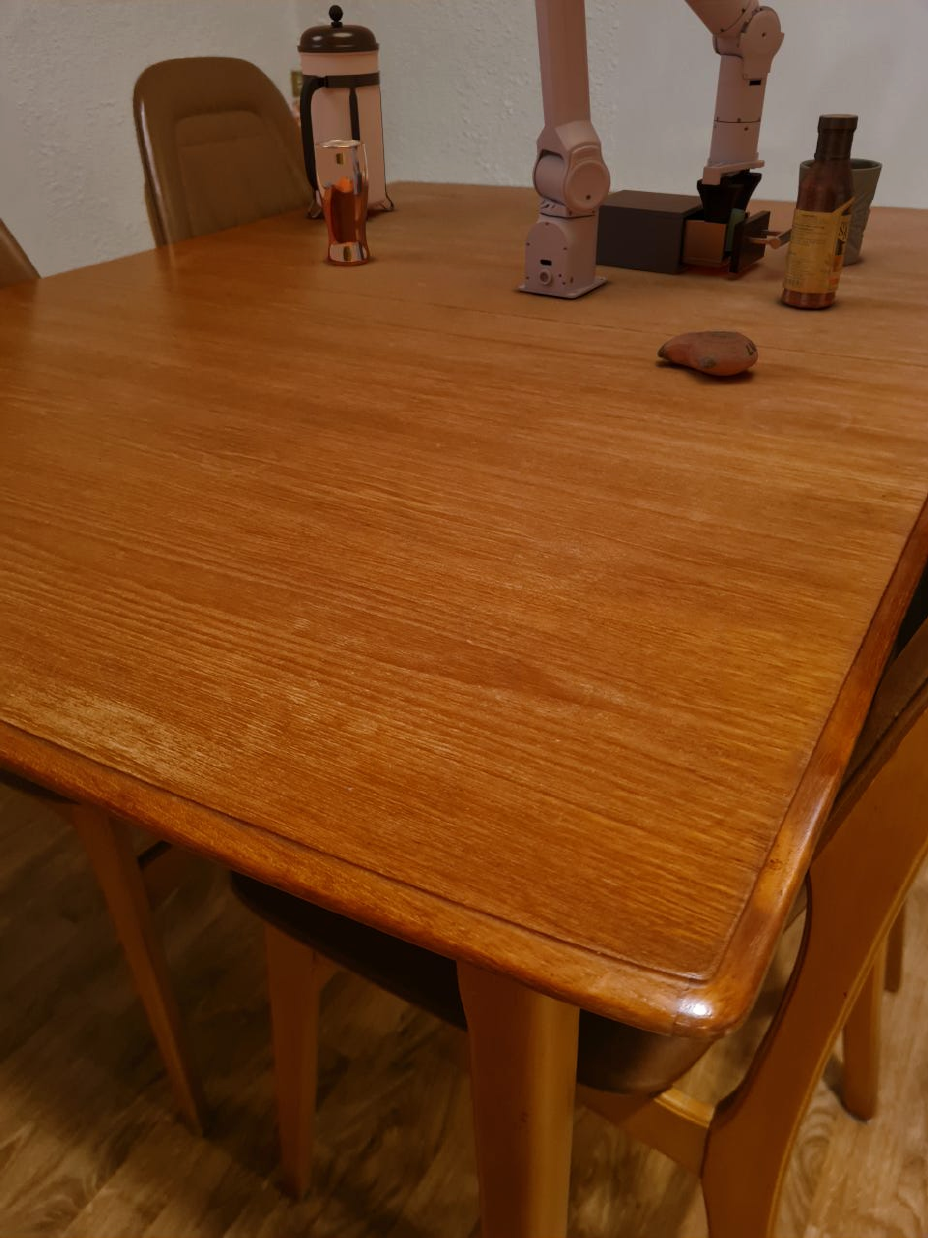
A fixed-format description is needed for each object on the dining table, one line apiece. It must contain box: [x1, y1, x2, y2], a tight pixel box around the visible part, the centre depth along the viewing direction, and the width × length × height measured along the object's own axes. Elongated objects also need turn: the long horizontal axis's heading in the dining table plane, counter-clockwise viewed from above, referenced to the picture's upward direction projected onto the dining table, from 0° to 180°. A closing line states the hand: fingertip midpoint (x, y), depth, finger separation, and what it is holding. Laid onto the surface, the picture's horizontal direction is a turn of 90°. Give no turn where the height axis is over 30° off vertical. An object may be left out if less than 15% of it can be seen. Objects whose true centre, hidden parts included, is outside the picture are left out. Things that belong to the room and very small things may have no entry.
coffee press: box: [296, 4, 395, 222], centre depth 153 cm, size 17×16×30 cm
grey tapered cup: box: [797, 157, 883, 266], centre depth 128 cm, size 10×10×12 cm
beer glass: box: [315, 140, 372, 267], centre depth 131 cm, size 7×7×15 cm
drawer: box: [679, 209, 791, 274], centre depth 126 cm, size 17×10×6 cm, turn 57°
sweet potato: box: [656, 329, 759, 377], centre depth 94 cm, size 9×4×8 cm
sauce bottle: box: [781, 113, 859, 309], centre depth 108 cm, size 7×6×20 cm
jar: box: [725, 208, 746, 251], centre depth 125 cm, size 5×5×4 cm
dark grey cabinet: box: [596, 189, 703, 275], centre depth 131 cm, size 14×12×8 cm
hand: (722, 235), depth 126 cm, fingers closed on jar, 5 cm apart
